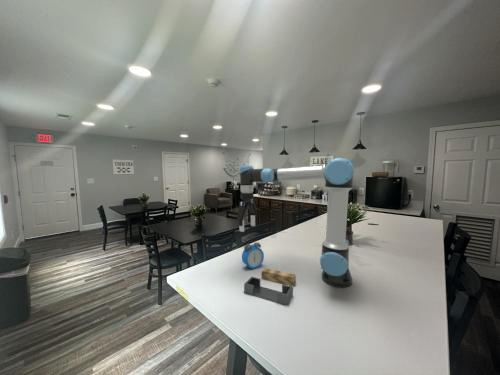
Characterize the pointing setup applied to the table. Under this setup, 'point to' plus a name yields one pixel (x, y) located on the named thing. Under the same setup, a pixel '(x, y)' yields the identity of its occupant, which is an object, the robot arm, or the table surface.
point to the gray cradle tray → (268, 292)
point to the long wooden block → (278, 277)
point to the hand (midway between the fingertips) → (247, 228)
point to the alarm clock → (252, 255)
